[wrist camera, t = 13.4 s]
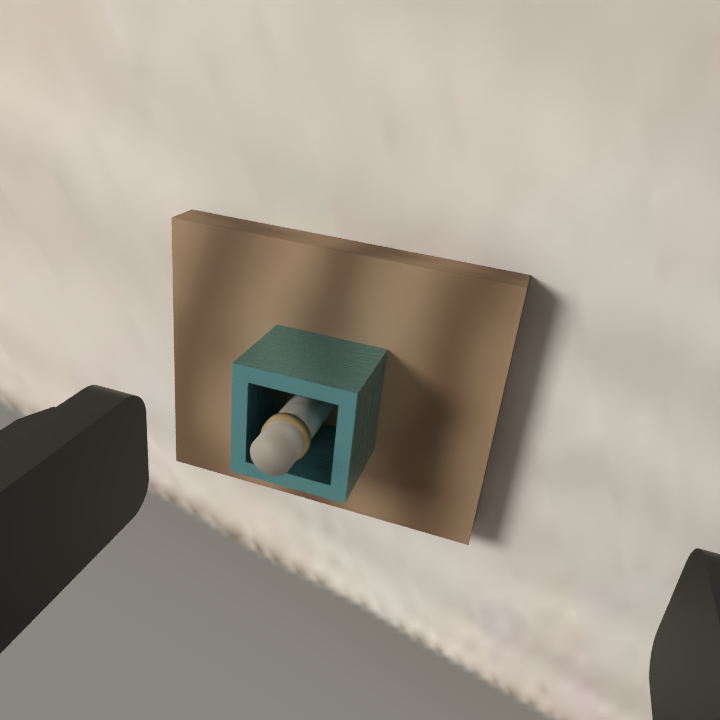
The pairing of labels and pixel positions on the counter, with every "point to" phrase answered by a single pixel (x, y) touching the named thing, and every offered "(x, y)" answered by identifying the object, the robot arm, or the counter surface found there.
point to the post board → (358, 324)
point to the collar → (317, 381)
